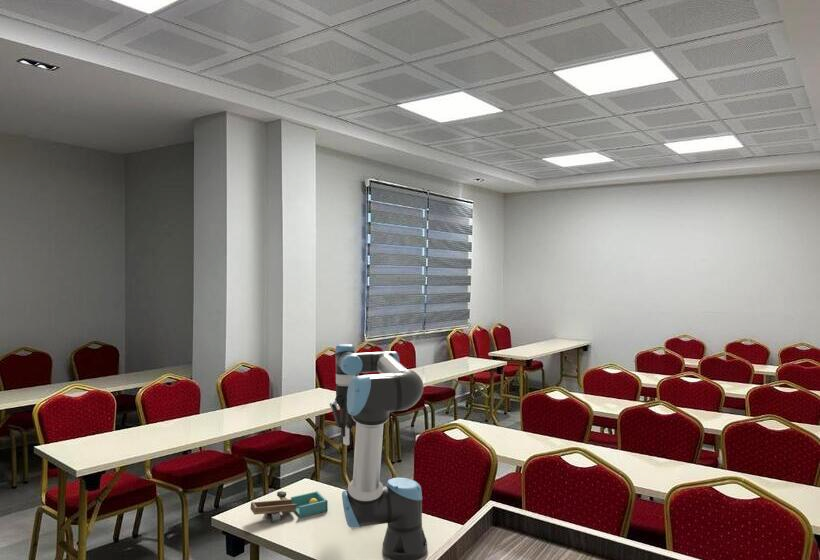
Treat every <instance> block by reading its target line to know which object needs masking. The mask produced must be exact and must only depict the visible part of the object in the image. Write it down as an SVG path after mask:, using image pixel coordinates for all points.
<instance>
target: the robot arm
mask: <svg viewBox="0 0 820 560" xmlns="http://www.w3.org/2000/svg"><path fill="white" fill-rule="evenodd" d="M334 355H335V384H336V385H335V398H334V401H333V402H330V403H329V407H330V408H331V411H332V414H333V418H334V422H335V426H336V427H337V428H339V429H340V435H341V437H342V444H343V445H345V446H350V436H351V435H352V428H353V426H355V438H354V454H353V455H354V456H353V469H352V471H353V472H352V474H353V475H352V480H351V481H349V483H348V485H347V489H345V490H343V491H342V493H341V499H342V507H343V512H344V517H345V522H346V525H347V526H348V527H349V528H351V529H355V528H360V529H361V528H365V527H370V526H377V525H383V524H387V528H386V531H385V534H384V538H383V540H382V554H383V555H385V556H386V557H387V558H388V559H390V560H418V559H421V558H423V557H424V556H425V555H426V554H427V552H428V540H427V538H426V535H425V530H424V528H423V494H422V487H421V485H420V483H418V482H417V481H416V480H414V479H410V478H406V477H391V478H389V479H388V480H387V481H386V485H383V483H382V482H381V480H380V477H381V476H380V475H381V464H382V462H381V461H382V452H383V451H382V448H383V437H384V436H383V435H384V424H386V423H387V422H388V421H389V419H390V413H393V412H402V411H406V410H408V409H410V408H412V407H413V406H415V405H416V404H417V403H418V402H419V401H420V399H421V398H422V396H423V393H424V382H423V379H422V378H421V376H420V375H419V374H418V373H417V372H416V371H414V370H412V369H409V368H408V369H407V368H406V367H405V366H404V365H403V364H402V363H400V356H399V353H398V352H397V351H396V350H395V351H390V350H386V351H372V352H371V351H370V352H356V348H355V345H354V344H350V343H340V344H336V346H335V352H334ZM368 373H375V374H368ZM376 373H378V374H376ZM358 374H363V375H358ZM337 407H339V410H338V408H337ZM339 412H340V413H339Z"/></svg>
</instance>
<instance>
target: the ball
mask: <svg viewBox="0 0 820 560" xmlns="http://www.w3.org/2000/svg"><path fill="white" fill-rule="evenodd" d="M316 502H317V499H315V498H312V499H311V500H310V502H309V504H312V503H316Z"/></svg>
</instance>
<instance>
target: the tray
mask: <svg viewBox="0 0 820 560" xmlns="http://www.w3.org/2000/svg"><path fill="white" fill-rule="evenodd" d="M312 498H315V499H317V502H316V503H312V504H309V502H310V500H311V499H312ZM290 499H292V504H297V505H296V511H294V513H295V514H296V515H297V516H298V517H299V518H303V517H307V516H312V515H316V514H317V515H318V514H319V513H320V514H321V513H324V512H327V511H328V510H329V509H328V500H327V499H326V498H325V497H324V496H323V495H322V494H321V493H320V492H319V491H318V490H317V491H311V492H308V493H307V492H306V493H303V494H299V495H294V496H291V497H290Z"/></svg>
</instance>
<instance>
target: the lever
mask: <svg viewBox="0 0 820 560" xmlns="http://www.w3.org/2000/svg"><path fill="white" fill-rule="evenodd" d="M276 494H277V495H276V496H277V497H278V498H279V499H276V500H275V499H274V500H267V501H266V500H264V501H263V500H262V501H252V502H250V508H249V509H250V510H251V512H252V513H253V515H256V516H257V515H265V514H267V513H276V512H280V513H286V512H287V513H288V512H295V511H296V505H297V504H292V499H291V498H290V499H289V498H287V492H286V491H278V492H277V493H276Z"/></svg>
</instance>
